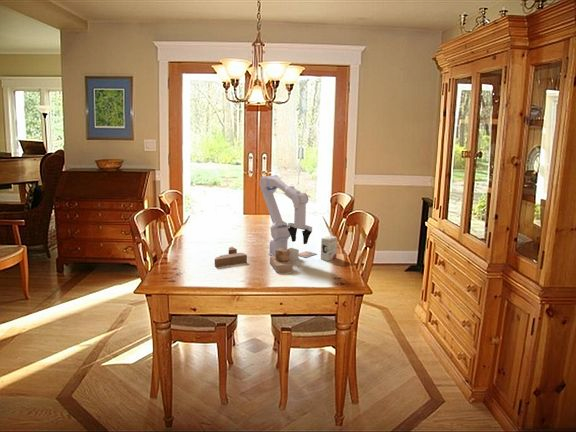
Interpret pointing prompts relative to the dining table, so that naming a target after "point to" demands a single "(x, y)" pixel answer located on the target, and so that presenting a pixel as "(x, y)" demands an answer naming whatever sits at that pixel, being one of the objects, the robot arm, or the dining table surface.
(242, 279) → the dining table surface
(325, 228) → the dining table surface
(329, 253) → the ink box
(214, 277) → the dining table surface
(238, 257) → the wooden block set
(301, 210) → the robot arm
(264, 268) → the dining table surface
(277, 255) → the walnut block
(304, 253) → the card
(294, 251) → the cream cube
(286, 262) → the brick
